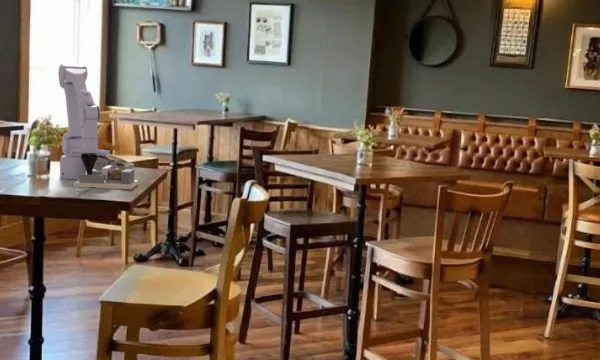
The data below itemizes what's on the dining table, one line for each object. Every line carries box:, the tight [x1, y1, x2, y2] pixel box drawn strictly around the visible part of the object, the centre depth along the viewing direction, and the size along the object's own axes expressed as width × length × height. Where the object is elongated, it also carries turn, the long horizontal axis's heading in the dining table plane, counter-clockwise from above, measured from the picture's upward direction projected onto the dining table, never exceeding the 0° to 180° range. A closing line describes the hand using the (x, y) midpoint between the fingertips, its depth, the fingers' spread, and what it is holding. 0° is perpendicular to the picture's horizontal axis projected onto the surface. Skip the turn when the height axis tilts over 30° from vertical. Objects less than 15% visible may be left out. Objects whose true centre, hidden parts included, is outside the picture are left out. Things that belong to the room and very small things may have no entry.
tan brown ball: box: [110, 168, 122, 180], centre depth 282 cm, size 5×5×5 cm
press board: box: [72, 168, 139, 190], centre depth 282 cm, size 21×12×6 cm, turn 89°
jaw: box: [102, 165, 113, 179], centre depth 282 cm, size 2×8×4 cm, turn 179°
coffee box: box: [89, 148, 135, 171], centre depth 297 cm, size 9×6×16 cm
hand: (89, 174), depth 282 cm, fingers closed
